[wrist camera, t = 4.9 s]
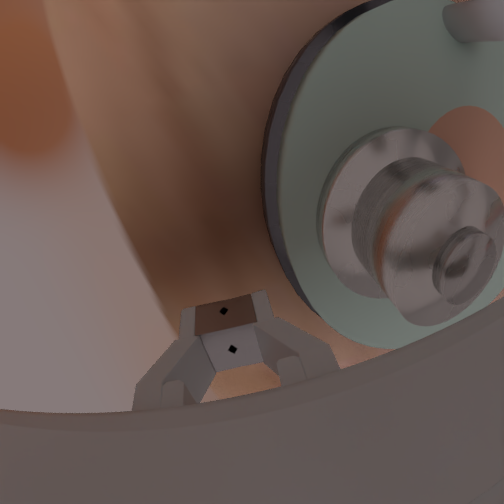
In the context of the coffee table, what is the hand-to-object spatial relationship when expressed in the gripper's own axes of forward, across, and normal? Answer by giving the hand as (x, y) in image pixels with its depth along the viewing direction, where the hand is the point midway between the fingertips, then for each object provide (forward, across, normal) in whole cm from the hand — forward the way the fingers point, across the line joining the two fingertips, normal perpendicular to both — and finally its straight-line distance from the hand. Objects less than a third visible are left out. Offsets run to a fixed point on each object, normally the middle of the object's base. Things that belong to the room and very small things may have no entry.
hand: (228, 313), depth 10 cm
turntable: (+6, -15, 0) cm, 16 cm away
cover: (+4, -9, 0) cm, 10 cm away
